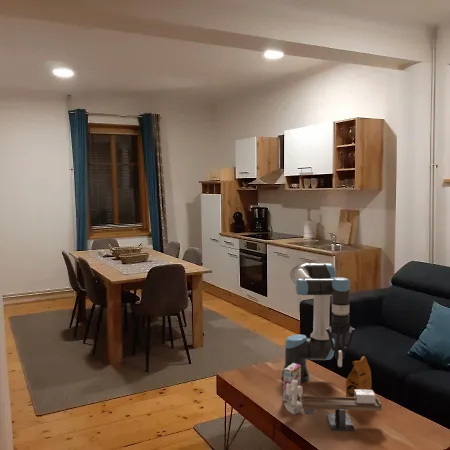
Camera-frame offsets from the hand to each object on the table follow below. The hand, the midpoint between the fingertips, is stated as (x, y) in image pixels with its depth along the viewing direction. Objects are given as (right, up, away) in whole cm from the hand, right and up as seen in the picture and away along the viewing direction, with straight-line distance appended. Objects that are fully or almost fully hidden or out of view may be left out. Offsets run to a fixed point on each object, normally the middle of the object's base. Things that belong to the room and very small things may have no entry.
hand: (339, 365), depth 209 cm
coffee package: (+14, -25, +22) cm, 36 cm away
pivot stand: (+1, -26, +2) cm, 26 cm away
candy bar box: (-17, -25, +27) cm, 41 cm away
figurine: (-18, -26, +13) cm, 34 cm away
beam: (+1, -21, +2) cm, 21 cm away
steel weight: (+11, -17, +1) cm, 20 cm away
